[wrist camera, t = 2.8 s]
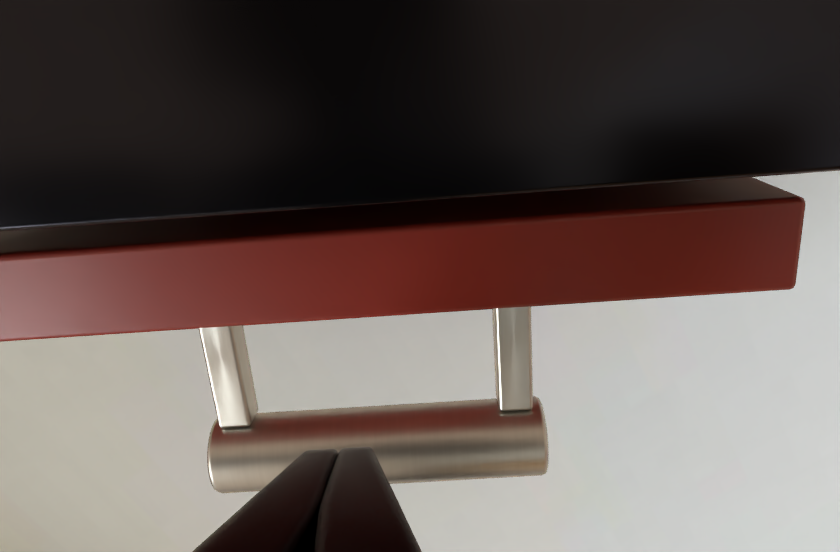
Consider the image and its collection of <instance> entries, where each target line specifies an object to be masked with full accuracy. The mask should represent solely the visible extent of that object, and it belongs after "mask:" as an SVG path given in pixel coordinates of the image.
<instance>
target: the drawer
mask: <svg viewBox="0 0 840 552" xmlns="http://www.w3.org/2000/svg"><path fill="white" fill-rule="evenodd" d="M804 210H805V201H804V199H803V198H802V197H799V196H797V195H794V194H792V193H789V192H787V191H784V190H782V189H779V188H777V187H775V186H772V185H770V184H767V183H765V182H762V181H760V180H757V179H755V178H752V177H743V178H729V179H716V180H702V181H688V182H675V183H661V184H647V185H633V186H620V187H606V188H592V189H578V190H565V191H551V192H537V193H523V194H510V195H496V196H482V197H468V198H455V199H441V200H427V201H413V202H400V203H386V204H372V205H358V206H345V207H331V208H317V209H304V210H290V211H276V212H262V213H249V214H235V215H221V216H207V217H194V218H180V219H166V220H152V221H139V222H125V223H111V224H97V225H84V226H70V227H56V228H42V229H29V230H15V231H1V232H0V341H14V340H29V339H44V338H59V337H74V336H89V335H104V334H119V333H135V332H150V331H165V330H180V329H195V328H199V332H200V337H201V342H202V346H203V351H204V356H205V361H206V365H207V370H208V375H209V380H210V385H211V389H212V394H213V399H214V404H215V408H216V413H217V418H218V419H217V420H216V421H215V422H214V424H213V426H212V429H211V432H210V437H209V442H208V451H207V463H208V472H209V477H210V481H211V484H212V486H213V488H214V489H215V490H216V491H218V492H220V493H235V492H253V491H261V490H262V489H263V488H264V487H265V486H266V485H267V484H269V483H270V482H271V481H272V480H273V479H274V478H275V477H276V476H277V475H279V474H280V473H281V472H282V471H283V470H284V469H285V468H286V467H288V466H289V465H290V464H291V463H292V462H293V461H294V460H295V459H296V458H298V457H299V456H300V455H301V454H302V453H304V452H305V451H307V450H320V449H335V450H337V451H338V453H339V451H340V450H341V449H343V448H354V447H371V448H372V449H373V450H374V452H375V454H376V456H377V459H378V461H379V463H380V465H381V467H382V469H383V471H384V473H385V475H386V478H387V480H388V482H389V484H396V483H414V482H431V481H449V480H467V479H485V478H503V477H521V476H538V475H543V474H545V473H546V472H547V468H548V459H549V454H548V437H547V428H546V421H545V415H544V411H543V407H542V404H541V402H540V400H539V398H537V397H534V396H533V387H532V340H531V306H543V305H558V304H573V303H588V302H604V301H619V300H634V299H649V298H664V297H679V296H694V295H709V294H725V293H740V292H755V291H770V290H785V289H791V288H794V286H795V283H796V275H797V266H798V258H799V250H800V242H801V234H802V226H803V218H804ZM483 309H492V310H493V334H494V357H495V380H496V396H497V399H484V400H467V401H451V402H434V403H418V404H401V405H385V406H368V407H352V408H336V409H319V410H303V411H286V412H270V413H257V411H258V405H257V400H256V394H255V389H254V383H253V378H252V372H251V367H250V362H249V356H248V351H247V345H246V340H245V334H244V329H243V325H256V324H271V323H286V322H301V321H316V320H331V319H346V318H362V317H377V316H392V315H407V314H422V313H437V312H452V311H467V310H483Z"/></svg>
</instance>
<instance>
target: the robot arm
mask: <svg viewBox="0 0 840 552" xmlns="http://www.w3.org/2000/svg"><path fill="white" fill-rule="evenodd" d="M193 552H421V549H420V547H419V545H418V543H417V541H416V539H415V537H414V535H413V533H412V530H411V528H410V526H409V524H408V522H407V520H406V518H405V516H404V514H403V511H402V509H401V507H400V505H399V503H398V501H397V499H396V497H395V494H394V492H393V490H392V488H391V486H390V484H389V482H388V480H387V478H386V475H385V473H384V471H383V469H382V467H381V465H380V463H379V461H378V459H377V456H376V454H375V452H374V450H373V449H372V448H371V447H354V448H343V449H341V450H340V451H339V453H338V451H337V450H335V449H320V450H307V451H305V452H304V453H302V454H301V455H300V456H299V457H298V458H296V459H295V460H294V461H293V462H292V463H291V464H290V465H289V466H288V467H286V468H285V469H284V470H283V471H282V472H281V473H280V474H279V475H277V476H276V477H275V478H274V479H273V480H272V481H271V482H270V483H269V484H267V485H266V486H265V487H264V488H263V489H262V490H261V491H260V492H259V493H257V494H256V495H255V496H254V497H253V498H252V499H251V500H250V501H248V502H247V503H246V504H245V505H244V506H243V507H242V508H241V509H240V510H238V511H237V512H236V513H235V514H234V515H233V516H232V517H231V518H229V519H228V520H227V521H226V522H225V523H224V524H223V525H222V526H221V527H219V528H218V529H217V530H216V531H215V532H214V533H213V534H212V535H210V536H209V537H208V538H207V539H206V540H205V541H204V542H203V543H202V544H200V545H199V546H198V547H197V548H196V549H195V550H194V551H193Z"/></svg>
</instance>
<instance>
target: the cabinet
mask: <svg viewBox="0 0 840 552" xmlns="http://www.w3.org/2000/svg"><path fill="white" fill-rule="evenodd" d="M839 170H840V0H0V232H1V231H15V230H29V229H42V228H56V227H70V226H84V225H97V224H111V223H125V222H139V221H152V220H166V219H180V218H194V217H207V216H221V215H235V214H249V213H262V212H276V211H290V210H304V209H317V208H331V207H345V206H358V205H372V204H386V203H400V202H413V201H427V200H441V199H455V198H468V197H482V196H496V195H510V194H523V193H537V192H551V191H565V190H578V189H592V188H606V187H620V186H633V185H647V184H661V183H675V182H688V181H702V180H716V179H729V178H743V177H757V176H771V175H784V174H798V173H812V172H826V171H839Z"/></svg>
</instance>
